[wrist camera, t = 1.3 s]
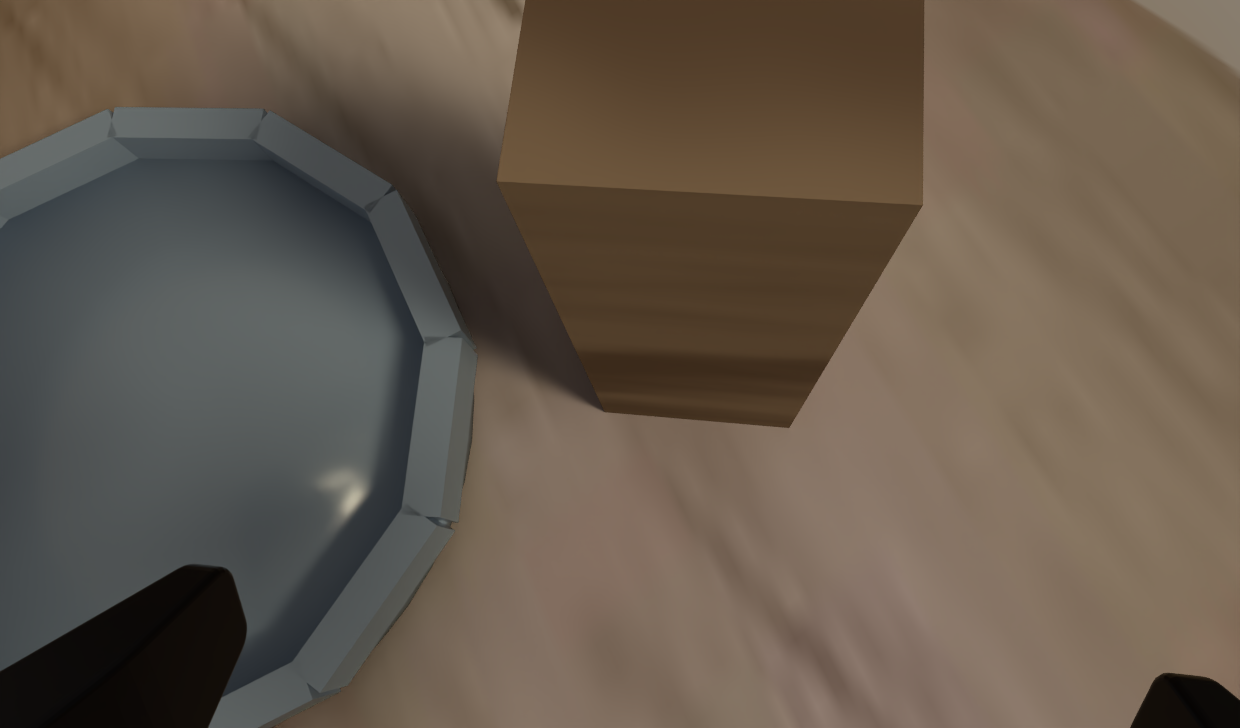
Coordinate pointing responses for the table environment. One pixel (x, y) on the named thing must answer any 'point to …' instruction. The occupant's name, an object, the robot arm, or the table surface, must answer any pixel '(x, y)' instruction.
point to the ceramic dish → (223, 390)
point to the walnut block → (713, 188)
